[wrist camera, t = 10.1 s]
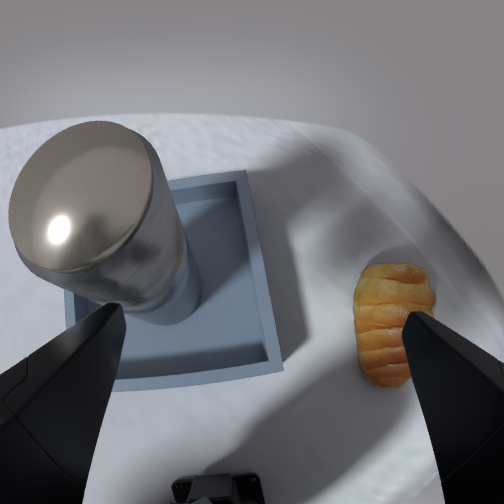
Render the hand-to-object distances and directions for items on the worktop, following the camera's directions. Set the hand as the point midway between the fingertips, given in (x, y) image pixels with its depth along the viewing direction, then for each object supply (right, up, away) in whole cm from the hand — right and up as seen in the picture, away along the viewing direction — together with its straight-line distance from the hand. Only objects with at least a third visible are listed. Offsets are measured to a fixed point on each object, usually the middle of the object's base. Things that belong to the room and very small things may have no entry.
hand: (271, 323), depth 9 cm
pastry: (+10, -3, +14) cm, 18 cm away
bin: (-7, -1, +13) cm, 15 cm away
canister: (-7, 0, +13) cm, 15 cm away
